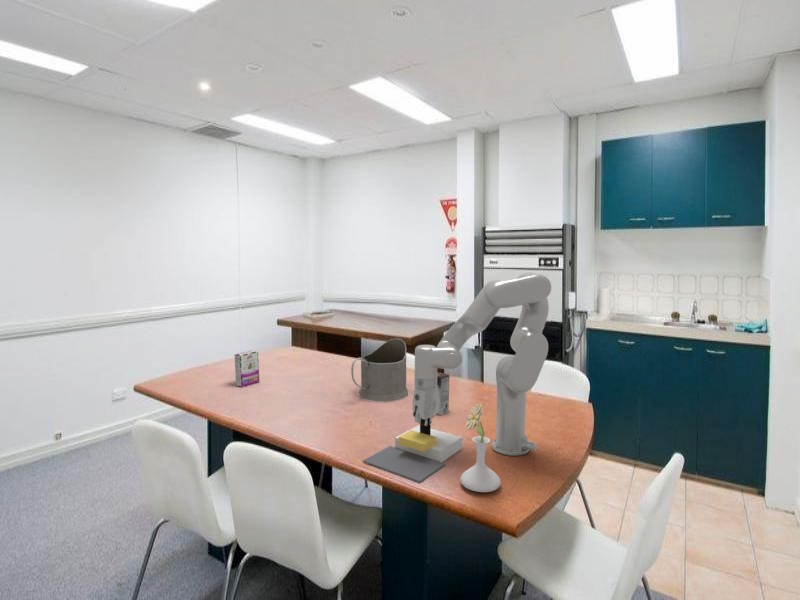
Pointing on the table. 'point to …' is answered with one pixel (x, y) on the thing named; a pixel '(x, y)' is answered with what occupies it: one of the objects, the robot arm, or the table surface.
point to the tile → (417, 440)
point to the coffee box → (443, 392)
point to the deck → (441, 450)
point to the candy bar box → (246, 368)
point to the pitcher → (384, 373)
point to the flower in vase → (479, 458)
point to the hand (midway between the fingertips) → (425, 435)
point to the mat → (405, 463)
